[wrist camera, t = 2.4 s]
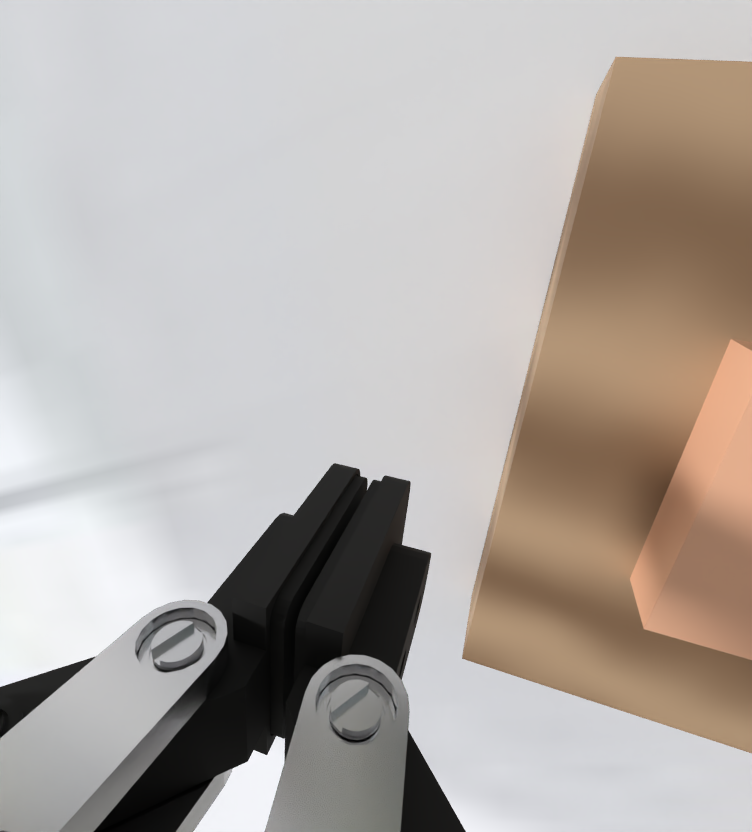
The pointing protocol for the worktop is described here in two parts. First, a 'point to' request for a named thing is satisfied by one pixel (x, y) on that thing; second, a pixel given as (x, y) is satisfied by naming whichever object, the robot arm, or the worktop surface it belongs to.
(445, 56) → the worktop surface
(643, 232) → the board
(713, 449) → the terracotta tile
